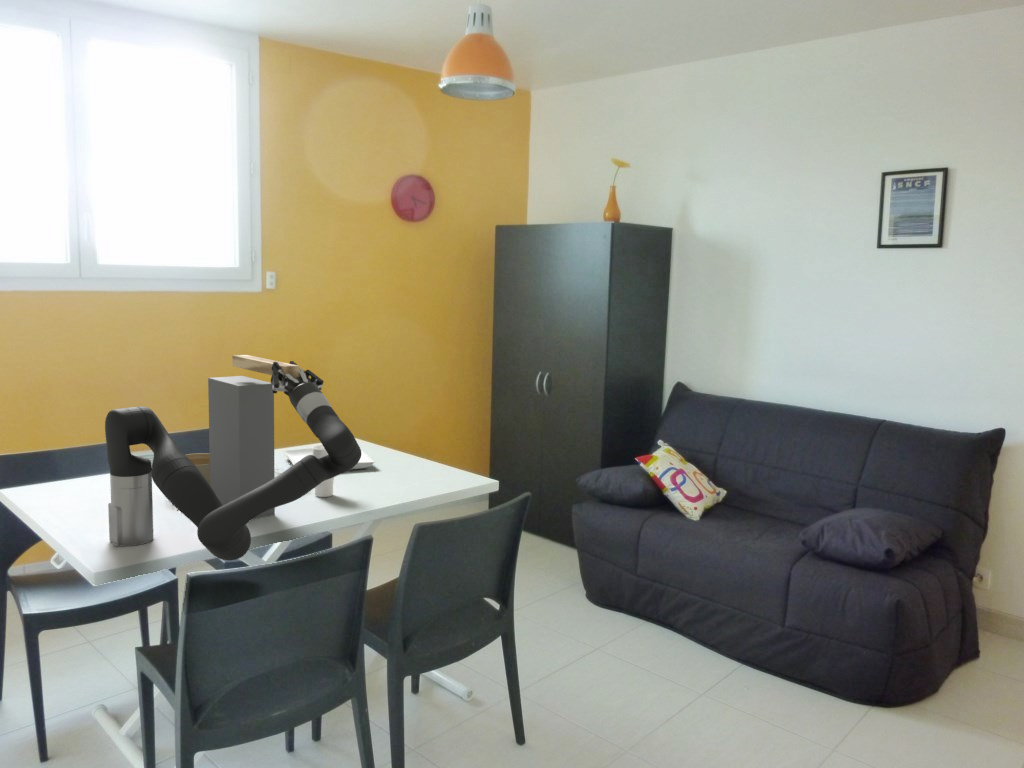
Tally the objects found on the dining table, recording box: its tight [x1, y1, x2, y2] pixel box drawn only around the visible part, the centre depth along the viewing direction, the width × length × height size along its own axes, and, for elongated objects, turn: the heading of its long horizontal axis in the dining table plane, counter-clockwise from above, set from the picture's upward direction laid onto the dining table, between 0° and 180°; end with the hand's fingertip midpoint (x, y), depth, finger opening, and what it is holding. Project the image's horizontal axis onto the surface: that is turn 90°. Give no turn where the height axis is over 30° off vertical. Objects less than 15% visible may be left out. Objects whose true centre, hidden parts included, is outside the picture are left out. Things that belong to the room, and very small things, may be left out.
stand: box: [207, 375, 276, 520], centre depth 222 cm, size 10×20×37 cm, turn 43°
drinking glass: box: [312, 444, 335, 498], centre depth 241 cm, size 7×7×15 cm
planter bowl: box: [185, 452, 210, 485], centre depth 238 cm, size 16×16×11 cm
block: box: [231, 354, 300, 378], centre depth 209 cm, size 4×30×3 cm, turn 43°
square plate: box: [282, 447, 375, 471], centre depth 282 cm, size 27×27×4 cm
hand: (282, 364), depth 202 cm, fingers closed on block, 4 cm apart
